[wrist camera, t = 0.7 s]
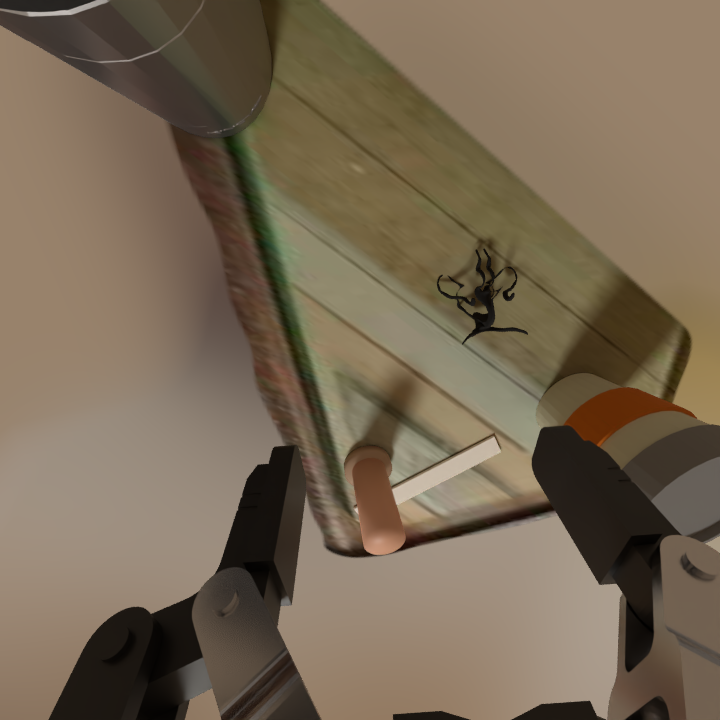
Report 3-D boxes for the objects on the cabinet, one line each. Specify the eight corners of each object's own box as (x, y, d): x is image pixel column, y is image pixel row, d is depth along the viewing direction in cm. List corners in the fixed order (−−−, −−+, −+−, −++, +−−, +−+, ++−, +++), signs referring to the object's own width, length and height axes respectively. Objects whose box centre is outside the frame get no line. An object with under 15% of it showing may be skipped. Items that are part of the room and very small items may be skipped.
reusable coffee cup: (506, 401, 38) (614, 509, 25) (604, 338, 36) (778, 418, 23) (542, 460, 43) (646, 575, 30) (629, 408, 41) (781, 506, 28)
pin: (335, 460, 38) (343, 538, 29) (376, 437, 37) (398, 511, 29) (358, 487, 41) (372, 567, 32) (397, 467, 40) (423, 542, 31)
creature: (431, 255, 30) (436, 338, 32) (454, 249, 25) (459, 349, 27) (509, 246, 31) (510, 328, 33) (548, 238, 26) (546, 336, 28)
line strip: (353, 507, 42) (354, 509, 42) (493, 435, 40) (494, 436, 40) (364, 519, 43) (365, 521, 43) (500, 450, 41) (501, 452, 41)
